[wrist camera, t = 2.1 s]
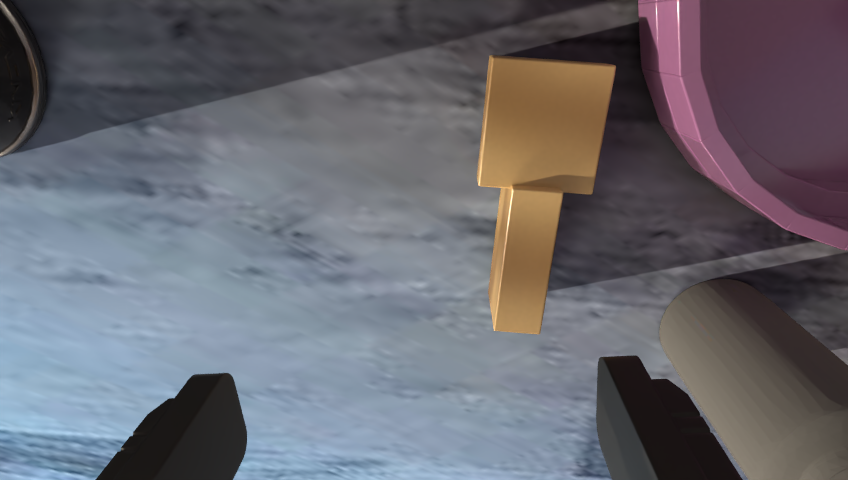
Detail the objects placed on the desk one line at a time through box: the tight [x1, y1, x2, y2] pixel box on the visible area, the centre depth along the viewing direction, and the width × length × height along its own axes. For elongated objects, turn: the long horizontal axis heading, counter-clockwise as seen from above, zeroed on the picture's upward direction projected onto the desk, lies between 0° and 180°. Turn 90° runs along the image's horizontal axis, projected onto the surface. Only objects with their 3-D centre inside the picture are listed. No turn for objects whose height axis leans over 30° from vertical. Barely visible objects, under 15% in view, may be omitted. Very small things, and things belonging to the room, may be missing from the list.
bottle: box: [660, 279, 848, 480], centre depth 22 cm, size 6×6×15 cm
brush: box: [477, 55, 616, 334], centre depth 25 cm, size 12×5×4 cm, turn 176°
